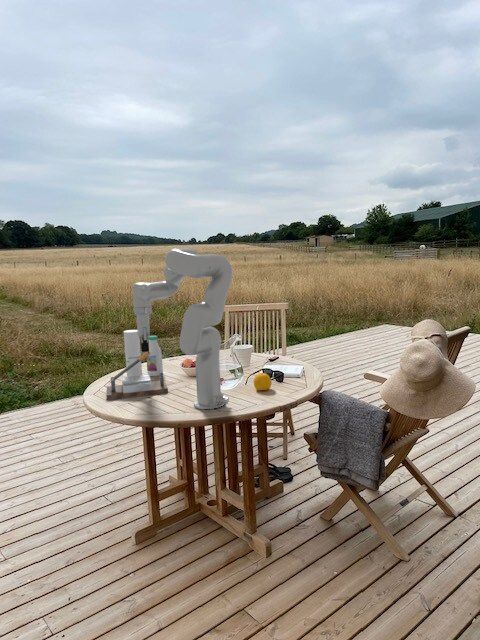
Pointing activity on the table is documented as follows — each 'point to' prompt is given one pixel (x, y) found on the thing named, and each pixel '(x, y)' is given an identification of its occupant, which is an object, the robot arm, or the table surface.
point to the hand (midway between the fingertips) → (145, 351)
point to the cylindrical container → (132, 352)
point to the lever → (132, 365)
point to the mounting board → (119, 392)
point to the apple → (262, 381)
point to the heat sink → (136, 383)
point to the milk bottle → (154, 357)
